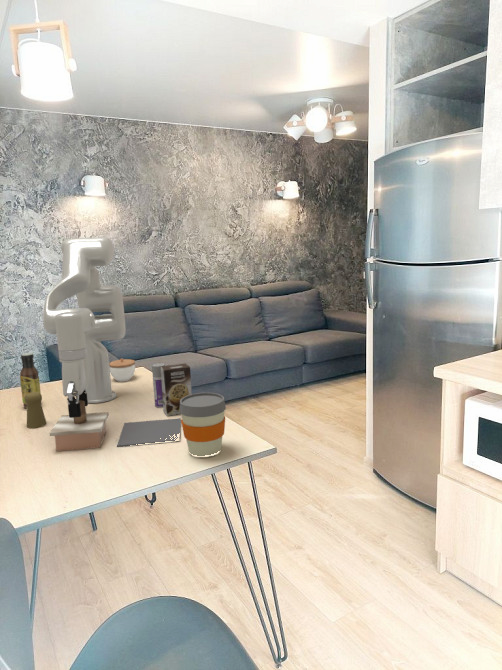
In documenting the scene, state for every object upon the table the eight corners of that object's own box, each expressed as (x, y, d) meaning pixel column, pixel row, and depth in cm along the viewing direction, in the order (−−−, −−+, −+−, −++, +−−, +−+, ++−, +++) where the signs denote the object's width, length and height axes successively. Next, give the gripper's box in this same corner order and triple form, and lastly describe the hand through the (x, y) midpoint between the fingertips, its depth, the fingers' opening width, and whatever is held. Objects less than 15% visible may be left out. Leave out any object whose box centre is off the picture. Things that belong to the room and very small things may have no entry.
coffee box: (166, 416, 163) (163, 370, 160) (163, 410, 169) (159, 365, 166) (193, 412, 166) (190, 366, 163) (188, 406, 172) (185, 362, 169)
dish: (66, 434, 151) (64, 419, 150) (106, 431, 152) (104, 416, 151) (56, 451, 139) (54, 434, 138) (99, 447, 141) (98, 430, 140)
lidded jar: (140, 376, 214) (138, 355, 212) (129, 383, 203) (127, 361, 201) (118, 375, 216) (116, 355, 214) (105, 382, 206) (103, 361, 204)
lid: (62, 418, 151) (59, 396, 150) (108, 414, 153) (106, 393, 151) (49, 436, 137) (46, 412, 136) (101, 431, 139) (98, 408, 138)
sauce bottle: (19, 408, 178) (12, 354, 174) (34, 402, 183) (27, 351, 179) (31, 410, 175) (24, 356, 171) (46, 405, 180) (39, 352, 176)
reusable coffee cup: (228, 440, 142) (225, 391, 139) (227, 460, 130) (224, 406, 127) (185, 442, 142) (181, 393, 139) (179, 462, 129) (176, 408, 126)
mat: (124, 424, 158) (124, 422, 158) (180, 419, 160) (180, 418, 160) (117, 447, 140) (116, 445, 140) (180, 441, 143) (180, 440, 142)
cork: (39, 428, 157) (35, 396, 155) (22, 428, 158) (18, 395, 156) (50, 422, 163) (46, 390, 160) (34, 421, 164) (30, 389, 162)
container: (170, 403, 176) (167, 363, 173) (164, 408, 172) (161, 366, 169) (159, 402, 178) (156, 362, 175) (152, 407, 173) (149, 366, 170)
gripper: (66, 349, 149) (72, 403, 152) (51, 362, 132) (58, 422, 135) (92, 347, 150) (97, 401, 153) (79, 360, 133) (86, 420, 136)
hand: (79, 411), depth 144 cm, fingers open, 9 cm apart
